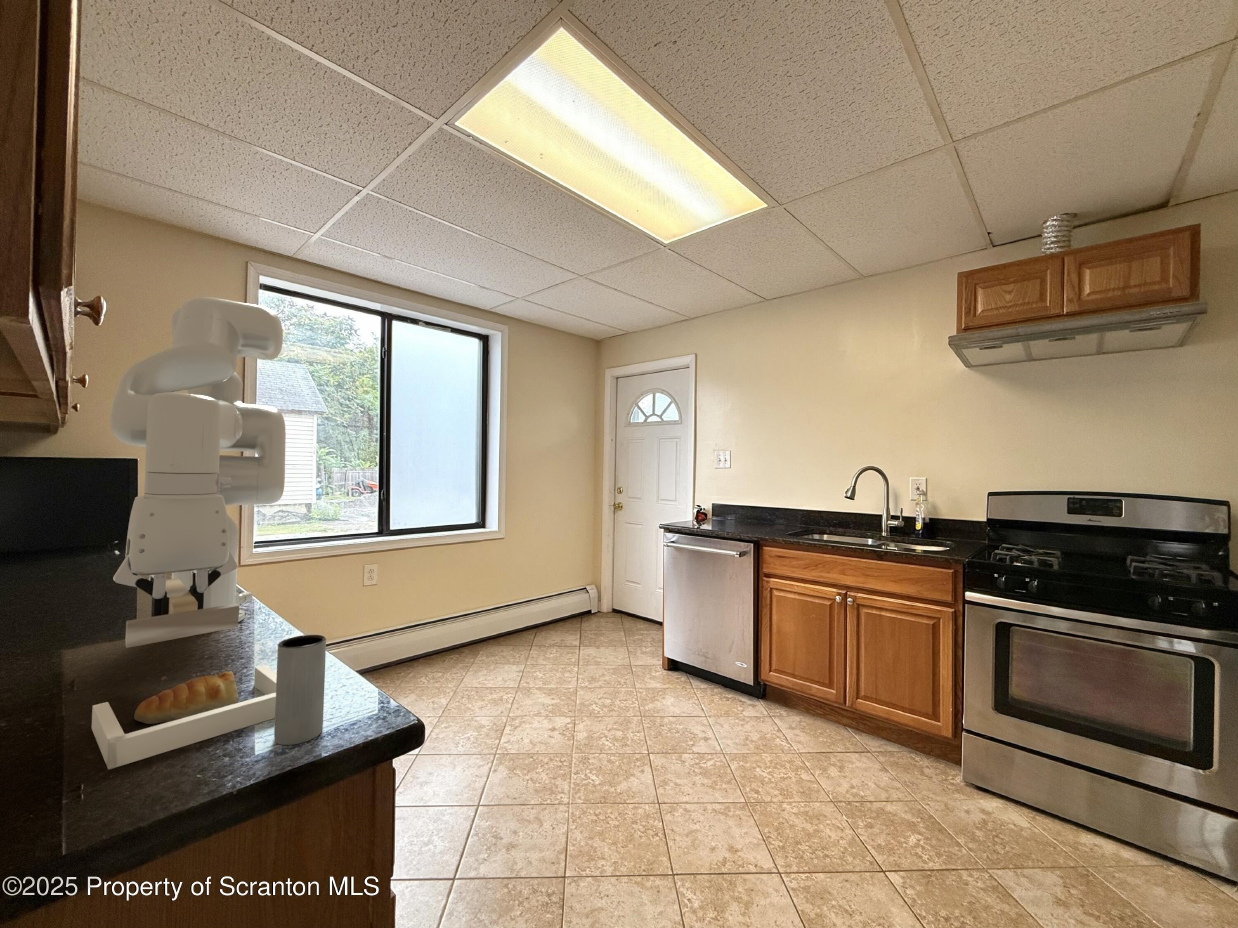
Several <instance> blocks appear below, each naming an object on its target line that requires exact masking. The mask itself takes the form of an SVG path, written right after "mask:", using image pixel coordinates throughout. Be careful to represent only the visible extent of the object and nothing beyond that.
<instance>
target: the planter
mask: <svg viewBox="0 0 1238 928" xmlns="http://www.w3.org/2000/svg"><path fill="white" fill-rule="evenodd" d="M326 652H327V637H326V636H324V635H320V634H303V635H301V634H300V635H296V636H291V637H288V638H286V639H283V640H281V641H279V642H278V644H277V656H276V657H277V659H276V661H277V662H276V673H277V679H276V704H275V718H274V730H273V731H274V735H273V738H274V742H275V743H276V744H278V745H285V746H292V745H293V746H294V745H298V744H303V743H305V742H309V741H310V740H314V739H315V738H317V737H318V736H319V735H320V734H321V733H322V732H323V727H324V726H323V725H324V705H325V681H326V680H325V679H326V654H327V653H326Z"/></svg>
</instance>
